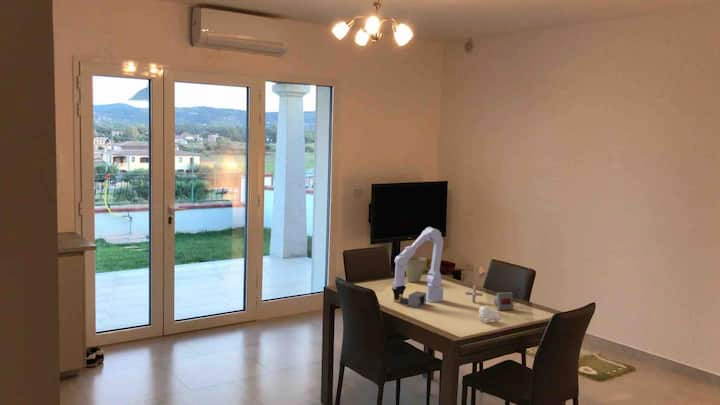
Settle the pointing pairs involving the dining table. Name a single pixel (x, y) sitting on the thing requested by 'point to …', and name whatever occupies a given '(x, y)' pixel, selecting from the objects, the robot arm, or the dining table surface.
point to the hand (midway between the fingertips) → (398, 298)
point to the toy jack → (474, 294)
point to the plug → (402, 299)
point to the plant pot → (415, 269)
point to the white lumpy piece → (488, 314)
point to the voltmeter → (505, 300)
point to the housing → (416, 299)
